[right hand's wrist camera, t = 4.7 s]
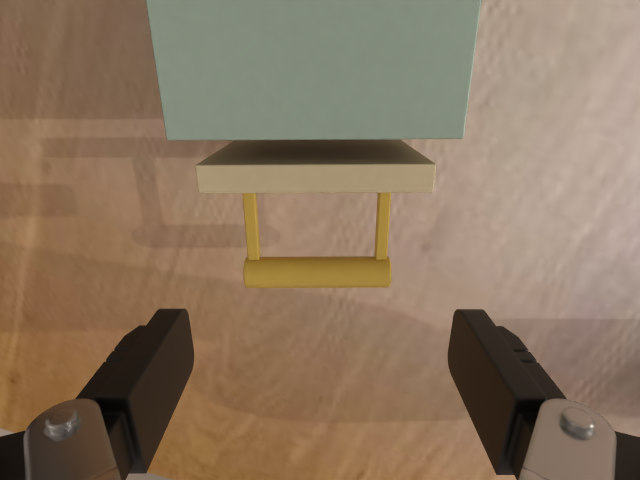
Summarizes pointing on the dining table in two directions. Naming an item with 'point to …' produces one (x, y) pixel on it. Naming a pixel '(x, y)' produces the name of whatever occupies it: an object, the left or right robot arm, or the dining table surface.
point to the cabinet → (314, 68)
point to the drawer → (316, 177)
